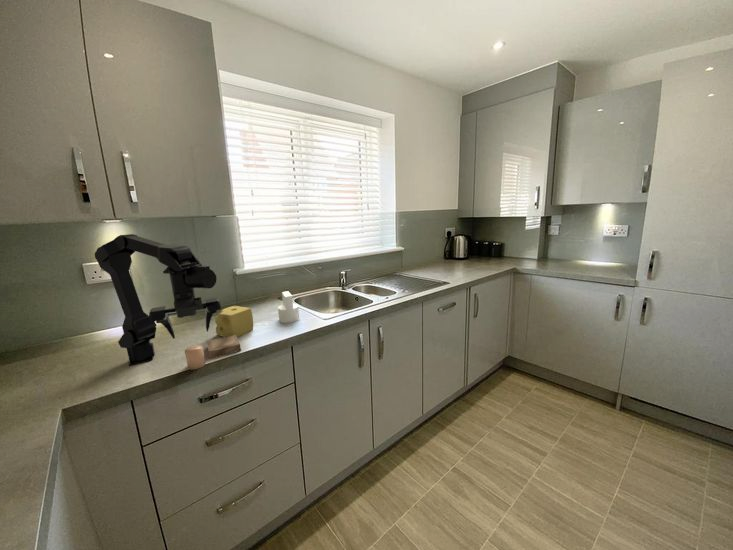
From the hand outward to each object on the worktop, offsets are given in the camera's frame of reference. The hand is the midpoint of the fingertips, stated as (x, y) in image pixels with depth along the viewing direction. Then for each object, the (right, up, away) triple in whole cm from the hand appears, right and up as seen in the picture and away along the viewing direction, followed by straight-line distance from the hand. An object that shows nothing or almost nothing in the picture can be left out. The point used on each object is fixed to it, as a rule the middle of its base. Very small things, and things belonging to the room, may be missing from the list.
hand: (191, 334), depth 94 cm
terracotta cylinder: (0, -11, +2) cm, 11 cm away
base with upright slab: (+21, -1, +41) cm, 46 cm away
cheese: (+2, -5, +28) cm, 29 cm away
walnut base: (+4, -8, +13) cm, 16 cm away
